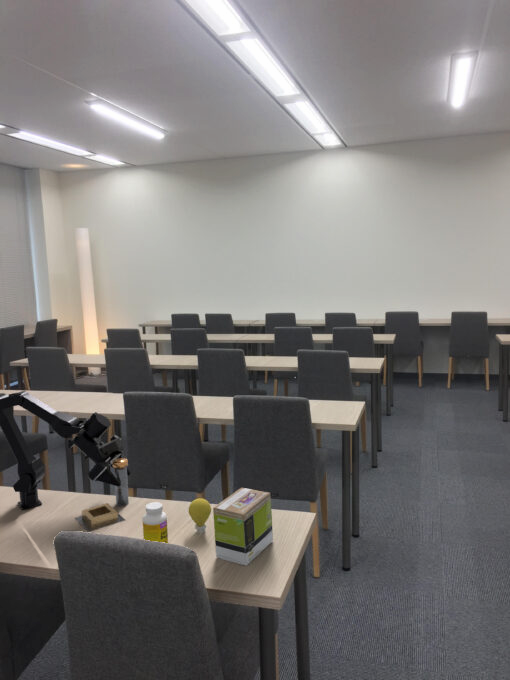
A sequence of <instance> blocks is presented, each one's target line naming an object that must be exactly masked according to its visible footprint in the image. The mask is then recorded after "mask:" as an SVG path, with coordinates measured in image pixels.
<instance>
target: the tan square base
mask: <svg viewBox="0 0 510 680" xmlns="http://www.w3.org/2000/svg"><path fill="white" fill-rule="evenodd" d="M74 519H75V520H76V521H77V522H78V524H80V526H82V527H83V529H84V530H85V531H86V532H87V533H89V532H93V531H96V530H99V529H102V528H106V527H109V526H111V525H115V524H118V523H122V522H124V521H126V519H125V518H124V517H123V516H122V515H121V514H119V512H118V510H116V509H115V508H114V507H112V505H110V504H109V503H104V504H100V505H96V506H94V507H90V508H86V509H83V510H81V515H80V516H77V517H74Z"/></svg>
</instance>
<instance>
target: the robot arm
mask: <svg viewBox="0 0 510 680" xmlns="http://www.w3.org/2000/svg"><path fill="white" fill-rule="evenodd" d="M17 406H19V407H21V408H23V409H25V410H26V411H27V412H29V413H31V414H32V415H34V416H35V417H37V418H39V419H40V420H42V421H44V422H45V423H47V424H48V425H50V427H51V429H52V430H53V432H55V433H56V434H57V435H58V436H59V437H60V438H63V439H68V440H67V441H68V446H67V448H68V449H69V450H70V449H71V448H72V447H74V446H75V447H76V448H77V450H78V449H79V451H80V452H82V454H83V455H85V457H84V459H85V460H86V461H87V460H88V459H89V460H90V461H91V462H92V463H93V464H94V465H93V467H92V468H91V469H90V470H89V471H88V473H87V478H88V479H89V480H90V481H91V482H94V481H95V482H100V483H105V484H109V485H111V486H114V487H115V486H118V487H119V486H120V485H121V483H120V482H119V481H118V479H117V478H116V477H115V474H113V472H112V471H111V468H113V469H114V467H113V460H115V459H119V458H124V453H125V451H124V450H125V448H123V443H122V441H123V439H122V438H120V436H118V435H116V434H114V435H112V436H111V437H110V440H109V441H108V442H106V443H105V442H104V441H100V442H99V441H98V440H97V439H100V438H101V437H102V436H103V434H104V433H105V432H106V431H107V430H108V429H109V428H110V427H111V426H112V423H111V421H110V419H109V418H108V417H107V416H104V415H103V414H99V413H98V412H96V411H95V412H94V413H92V414H91V416H90V417H89V418H88V420H86V419H80V418H78V417H77V416H73V415H71V414H69V413H65V412H64V413H63V412H61V411H57V409H54V408H53V407H51V406H50V405H48V404H46V403H45V402H43V401H41V400H40V399H38V398H36V397H34V396H33V395H31V394H30V393H29V392H28V391H26V390H22V391H20V392H13V393H9V394H7V393H4V392H2V393H0V429H1V431H2V434H3V435H4V437H5V439H6V441H7V444H8V445H9V447H10V449H11V451H12V453H13V455H14V457H15V460H16V462H17V470H16V471H17V475H18V480H17V481H16V482H15V483H14V484H13V486H12V488H13V491H14V492H15V493H18V494H19V501H18V502H17V505H18V507H19V508H20V510H22V511H23V510H24V511H25V510H26V509H30V508H33V507H34V508H35V507H38V506H41V505H42V504H43V503H42V501H41V500H40V499H39V491H38V485H39V484H40V483H41V481H42V479H43V478H44V476H45V474H46V465H45V464H44V463H43V460H42V458H41V456H38V457H36V456H34V455H33V454H32V452H31V450H30V448H29V446H28V444H27V442H26V439H25V438H24V436H23V433H22V432H21V429H20V427H19V425H18V423H17V422H16V419H15V417H14V412H15V411H14V409H15V407H17ZM74 435H75V436H74ZM73 436H74V437H73ZM131 474H132V473H131V471H130V469H129V468H128V466H127V477H128V476H131Z"/></svg>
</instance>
